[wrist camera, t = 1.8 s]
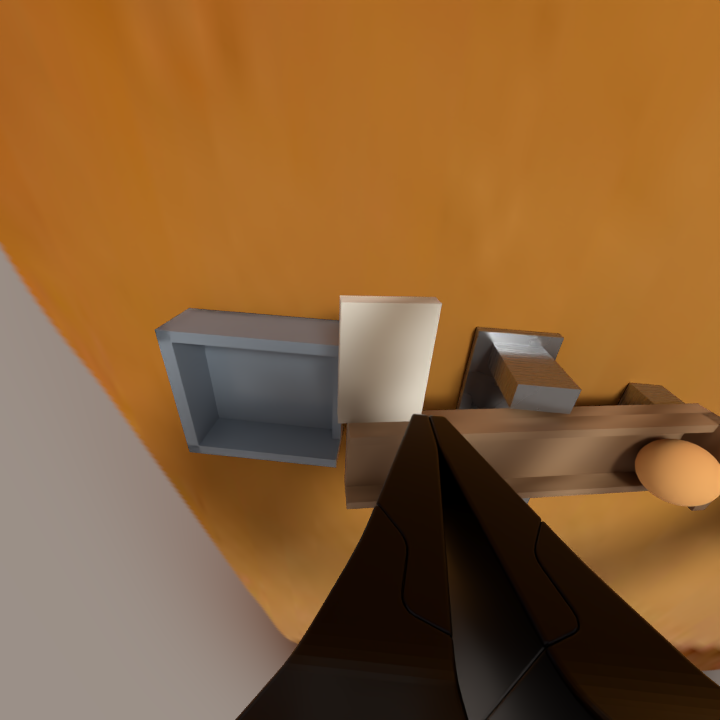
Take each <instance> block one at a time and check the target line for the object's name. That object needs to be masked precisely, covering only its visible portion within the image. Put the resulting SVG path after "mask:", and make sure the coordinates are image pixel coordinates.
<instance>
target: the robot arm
mask: <svg viewBox="0 0 720 720" xmlns="http://www.w3.org/2000/svg"><path fill="white" fill-rule="evenodd" d="M236 720H720V686H719V685H717V684H716V683H715V682H714V681H712V680H711V679H710V678H709V677H707V676H706V675H705V674H704V673H703V672H702V671H700V670H699V669H698V668H697V667H696V666H695V665H694V664H692V663H691V662H690V661H689V660H688V659H687V658H686V657H685V656H684V655H683V654H682V653H680V652H679V651H678V650H677V649H676V648H675V647H674V646H673V645H672V644H671V643H670V642H668V641H667V640H666V639H665V638H664V637H663V636H662V635H661V634H660V633H659V632H658V631H657V630H655V629H654V628H653V627H652V626H651V625H650V624H649V623H648V622H647V621H646V620H645V619H644V618H642V617H641V616H640V615H639V614H638V613H637V612H636V611H635V610H634V609H633V608H632V607H631V606H629V605H628V604H627V603H626V602H625V601H624V600H623V599H622V598H621V597H620V596H619V595H618V594H616V593H615V592H614V591H613V590H612V589H611V588H610V587H609V586H608V585H607V584H606V583H605V582H604V581H603V580H602V579H601V578H599V577H598V576H597V575H596V574H595V573H594V572H593V571H592V570H591V569H590V568H589V567H588V566H587V565H586V564H585V563H584V562H583V561H582V560H581V559H580V558H579V557H578V556H577V555H576V554H575V553H574V552H573V551H572V550H571V549H570V548H569V547H568V546H567V545H566V544H565V543H564V542H563V541H562V540H561V539H560V538H559V537H558V536H557V535H556V534H555V533H554V532H553V531H552V530H551V528H550V527H549V526H548V525H547V524H546V523H545V522H543V521H542V522H541V518H540V517H539V516H538V515H537V514H536V513H535V512H534V511H533V510H532V509H531V507H530V506H529V505H528V504H527V503H526V502H525V501H524V500H523V499H522V498H521V497H520V496H519V495H518V494H517V493H516V492H515V490H514V489H513V488H512V487H511V486H510V485H509V484H508V483H507V482H506V481H505V480H504V479H503V478H502V477H501V476H500V475H499V474H498V472H497V471H496V470H495V469H494V468H493V467H492V466H491V465H490V464H489V463H488V462H487V461H486V460H485V459H484V458H483V457H482V456H481V454H480V453H479V452H478V451H477V450H476V449H475V448H474V447H473V446H472V445H471V444H470V443H469V442H468V441H467V440H466V439H465V437H464V436H463V435H462V434H461V433H460V432H459V431H458V430H457V429H456V428H455V427H454V426H453V425H452V424H451V423H450V422H449V421H448V419H447V418H445V417H444V416H435V415H430V416H429V417H428V416H427V415H424V414H413V415H412V416H411V419H410V421H409V424H408V426H407V429H406V431H405V434H404V436H403V438H402V441H401V443H400V446H399V448H398V451H397V453H396V456H395V458H394V461H393V463H392V465H391V468H390V470H389V473H388V475H387V478H386V480H385V483H384V485H383V488H382V490H381V493H380V495H379V497H378V500H377V502H376V506H375V507H374V509H373V512H372V514H371V517H370V519H369V521H368V524H367V526H366V528H365V530H364V532H363V535H362V537H361V539H360V541H359V543H358V545H357V546H356V548H355V550H354V552H353V554H352V556H351V557H350V559H349V561H348V563H347V565H346V566H345V568H344V570H343V571H342V573H341V575H340V576H339V578H338V580H337V582H336V583H335V585H334V587H333V588H332V590H331V592H330V593H329V595H328V597H327V598H326V600H325V602H324V603H323V605H322V607H321V608H320V610H319V612H318V614H317V615H316V617H315V619H314V620H313V622H312V624H311V625H310V627H309V628H308V630H307V631H306V633H305V635H304V636H303V638H302V639H301V641H300V642H299V644H298V645H297V647H296V648H295V650H294V651H293V652H292V654H291V655H290V657H289V658H288V659H287V661H286V662H285V663H284V665H283V666H282V667H281V668H280V669H279V670H278V672H277V673H276V674H275V675H274V676H273V677H272V679H271V680H270V681H269V682H268V683H267V684H266V685H265V687H264V688H263V689H262V690H261V691H260V692H259V693H258V695H257V696H256V697H255V698H254V699H253V700H252V701H251V703H250V704H249V705H248V706H247V707H246V708H245V709H244V711H243V712H242V713H241V714H240V715H239V716H238V717H237V718H236Z"/></svg>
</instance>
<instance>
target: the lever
mask: <svg viewBox="0 0 720 720" xmlns="http://www.w3.org/2000/svg"><path fill="white" fill-rule="evenodd" d="M441 306H442V303H441V302H440V301H439V300H438V299H437V298H436V297H396V296H340V318H339V363H338V408H337V414H338V423H347V435H346V459H345V493H346V506H347V509H358V508H374V507H375V506H376V502H377V500H378V497H379V495H380V493H381V490H382V488H383V485H384V483H385V480H386V478H387V475H388V473H389V470H390V468H391V465H392V463H393V461H394V458H395V456H396V453H397V451H398V448H399V446H400V443H401V441H402V438H403V436H404V434H405V431H406V429H407V426H408V424H409V421H410V419H411V416H412V415H413V414H424V415H427V416H428V417H429V416H430V415H435V416H444V417H445V418H447V419H448V421H449V422H450V423H451V424H452V425H453V426H454V427H455V428H456V429H457V430H458V431H459V432H460V433H461V434H462V435H463V436H464V437H465V439H466V440H467V441H468V442H469V443H470V444H471V445H472V446H473V447H474V448H475V449H476V450H477V451H478V452H479V453H480V454H481V456H482V457H483V458H484V459H485V460H486V461H487V462H488V463H489V464H490V465H491V466H492V467H493V468H494V469H495V470H496V471H497V472H498V474H499V475H500V476H501V477H502V478H503V479H504V480H505V481H506V482H507V483H508V484H509V485H510V486H511V487H512V488H513V489H514V490H515V492H516V493H517V494H518V495H519V496H520V497H521V498H538V497H555V496H571V495H587V494H604V493H620V492H637V491H648V490H647V489H646V488H645V487H644V486H643V484H642V483H641V482H640V480H639V478H638V476H637V474H636V470H635V459H636V456H637V454H638V452H639V451H640V450H641V449H642V448H643V447H644V446H645V445H647V444H649V443H650V442H653V441H656V440H660V439H679V440H684V441H688V442H691V443H693V444H696V445H698V446H700V447H701V448H703V449H705V450H706V451H708V452H709V453H710V454H711V455H712V456H713V457H714V458H715V459H716V460H717V461H718V462H719V464H720V417H719V416H717V415H716V414H714V413H712V412H711V411H709V410H708V409H706V408H704V407H703V406H701V405H699V404H698V403H693V404H655V405H616V406H577V407H573V409H572V411H571V413H570V414H563V413H552V412H542V411H531V410H521V409H510V408H499V409H460V410H422V408H423V402H424V397H425V392H426V386H427V381H428V376H429V370H430V365H431V359H432V354H433V349H434V343H435V338H436V333H437V327H438V322H439V316H440V311H441ZM710 503H711V502H709V503H707V504H704V505H700V506H687V507H688V508H689V509H691V510H692V511H695V510H705V509H706V507H707V506H708V505H709V504H710Z"/></svg>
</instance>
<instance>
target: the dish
mask: <svg viewBox="0 0 720 720" xmlns="http://www.w3.org/2000/svg"><path fill="white" fill-rule="evenodd" d="M155 332H156V336H157V339H158V343H159V346H160V350H161V353H162V357H163V360H164V364H165V367H166V371H167V374H168V378H169V381H170V385H171V388H172V392H173V395H174V399H175V402H176V406H177V409H178V413H179V416H180V420H181V423H182V427H183V430H184V434H185V437H186V441H187V444H188V448H189V451H190V452H195V453H204V454H214V455H223V456H232V457H242V458H251V459H261V460H270V461H280V462H289V463H298V464H308V465H317V466H327V467H336V465H337V460H338V455H339V450H340V445H341V440H342V434H343V423H338V414H337V408H338V363H339V321H338V320H326V319H314V318H302V317H290V316H277V315H265V314H253V313H241V312H229V311H217V310H205V309H193V308H189V309H187V310H185V311H184V312H182V313H181V314H179V315H177V316H176V317H174V318H173V319H171V320H170V321H168V322H166V323H165V324H163V325H162V326H160V327H158V328H157V329H155Z"/></svg>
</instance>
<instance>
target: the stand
mask: <svg viewBox="0 0 720 720" xmlns="http://www.w3.org/2000/svg"><path fill="white" fill-rule="evenodd" d="M563 339H564V338H563V337H562V336H561V335H560V334H556V333H544V332H532V331H519V330H507V329H495V328H483V327H477V328H476V332H475V336H474V340H473V344H472V348H471V352H470V356H469V360H468V364H467V368H466V372H465V376H464V380H463V384H462V388H461V392H460V396H459V400H458V404H457V408H456V410H460V409H499V408H510V409H521V410H531V411H542V412H552V413H563V414H570V413H571V411H572V409H573V406H574V404H575V402H576V400H577V398H578V396H579V394H580V392H581V389H580V388H579V387H578V385H577V384H576V383H575V382H574V381H573V380H572V379H571V378H570V377H569V375H568V374H567V373H566V372H565V371H564V370H563V369H562V368H561V367H560V365H559V364H558V363H557V362H556V361H555V359H556V356H557V354H558V351H559V349H560V346H561V344H562V342H563ZM655 404H685V403H684V402H682V401H681V400H680V399H679V398H677V397H676V396H675V395H673V394H672V393H671V392H669V391H668V390H667V389H665V388H664V387H663V386H660V385H648V384H637V383H629V385H628V387H627V389H626V390H625V392H624V394H623V396H622V398H621V399H620V401H619V403H618V405H655ZM522 499H523V500H524V501H525V502H526V503H528V501H529V499H530V498H522Z"/></svg>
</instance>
